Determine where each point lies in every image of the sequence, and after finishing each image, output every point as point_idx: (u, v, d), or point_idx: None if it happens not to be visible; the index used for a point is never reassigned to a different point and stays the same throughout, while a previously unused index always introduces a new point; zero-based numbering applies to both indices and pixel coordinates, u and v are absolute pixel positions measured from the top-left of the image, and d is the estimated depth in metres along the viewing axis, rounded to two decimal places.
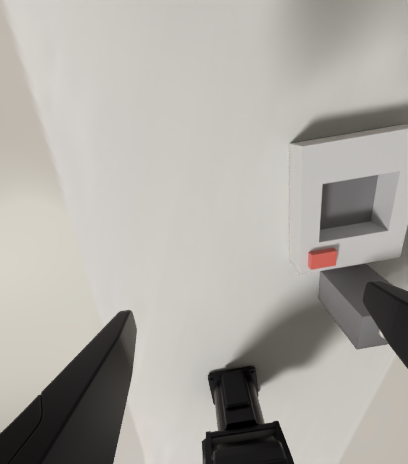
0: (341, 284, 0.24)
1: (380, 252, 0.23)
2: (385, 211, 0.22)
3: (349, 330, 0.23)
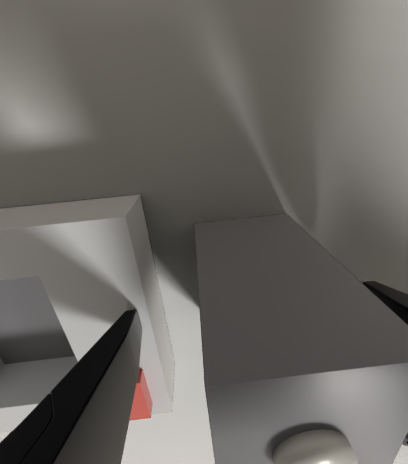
0: None
1: (110, 277, 0.08)
2: None
3: None
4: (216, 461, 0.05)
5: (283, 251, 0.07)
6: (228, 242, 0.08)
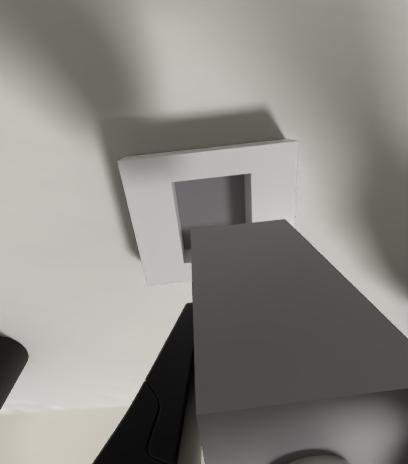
0: None
1: (283, 174, 0.17)
2: None
3: None
4: None
5: (282, 260, 0.07)
6: (225, 250, 0.08)
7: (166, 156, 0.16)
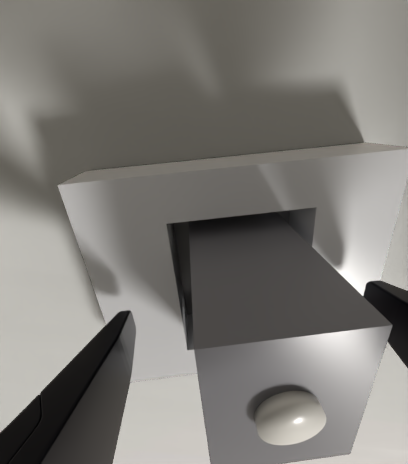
0: None
1: (375, 209, 0.09)
2: None
3: None
4: (205, 421, 0.06)
5: (268, 242, 0.08)
6: (219, 235, 0.09)
7: (156, 176, 0.08)
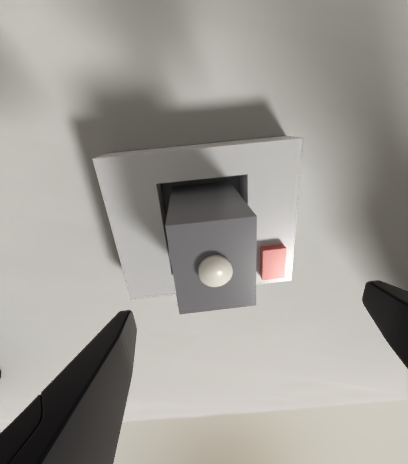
0: None
1: (284, 176, 0.15)
2: None
3: None
4: (173, 272, 0.11)
5: (216, 194, 0.14)
6: (189, 192, 0.15)
7: (150, 154, 0.13)
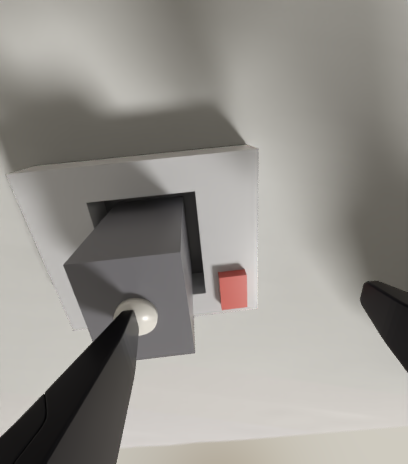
0: None
1: (239, 193, 0.12)
2: None
3: None
4: (84, 318, 0.09)
5: (156, 215, 0.12)
6: (128, 212, 0.13)
7: (74, 168, 0.11)
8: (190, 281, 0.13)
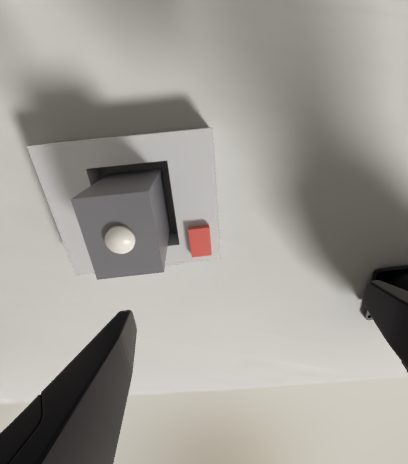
0: None
1: (200, 162, 0.17)
2: None
3: None
4: (84, 240, 0.13)
5: (137, 177, 0.16)
6: (117, 177, 0.17)
7: (77, 142, 0.15)
8: (164, 229, 0.17)
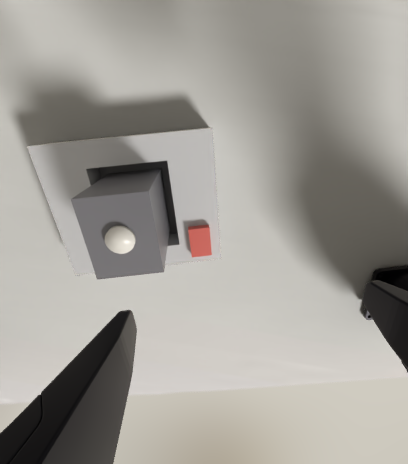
0: None
1: (200, 162, 0.17)
2: None
3: None
4: (84, 240, 0.13)
5: (137, 177, 0.16)
6: (117, 177, 0.17)
7: (77, 142, 0.15)
8: (164, 229, 0.17)
